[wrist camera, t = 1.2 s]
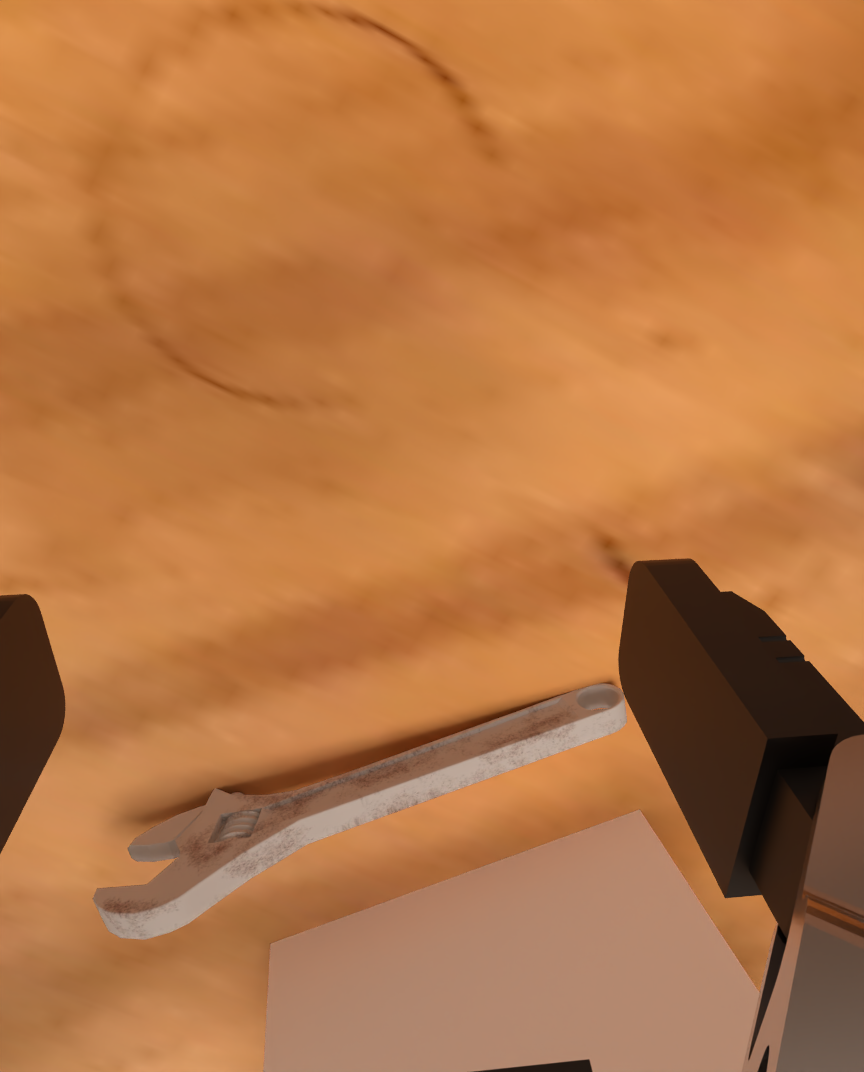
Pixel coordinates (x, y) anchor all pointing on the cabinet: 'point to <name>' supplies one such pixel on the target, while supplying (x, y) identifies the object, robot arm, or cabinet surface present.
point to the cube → (519, 971)
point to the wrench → (335, 809)
